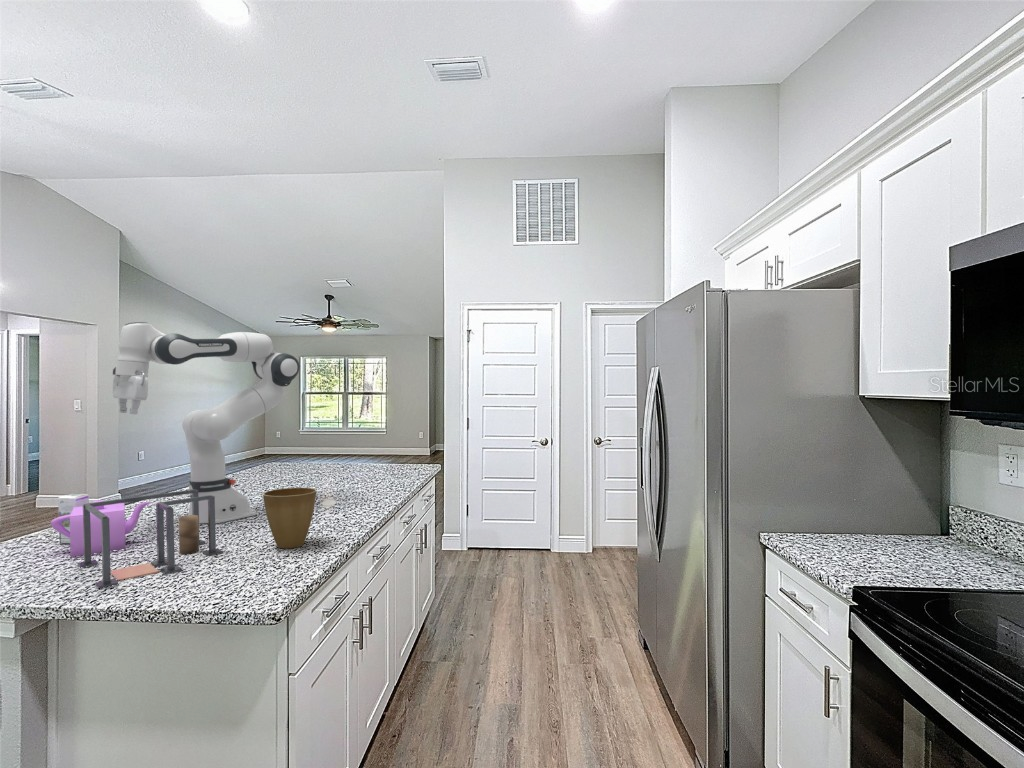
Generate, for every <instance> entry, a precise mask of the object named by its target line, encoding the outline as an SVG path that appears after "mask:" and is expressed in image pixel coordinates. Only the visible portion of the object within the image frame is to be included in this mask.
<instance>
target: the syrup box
mask: <svg viewBox="0 0 1024 768" xmlns="http://www.w3.org/2000/svg"><path fill="white" fill-rule="evenodd" d="M87 503H90V495H89V494H88V493H85V494H84V493H70V494H65V495H61V496H60V497H59V496H58V498H57V505H58V509H57V510H58V517H61V516H65V515H70V514H71V513H72V510H73V508H74V507H82V506H83V505H84V504H87ZM61 524H62V525H63V527H64V528H65V529H67V530H68V531H69V532H70V519H67V520H64V521H62V522H61ZM58 533H59V532H58ZM58 535H59V544H60V545H70V538H69V537H67V536H65V535H63V534H61V533H59V534H58Z"/></svg>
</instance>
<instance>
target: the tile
mask: <svg viewBox="0 0 1024 768" xmlns="http://www.w3.org/2000/svg"><path fill="white" fill-rule="evenodd" d="M110 570H111V574H112V575H113V576H114V577H115V578H116V579H117V580H118V582H120V581H119V580H122V581H125V580H124V579H127V580H130V579H129V578H131V579H134V578H133V577H136V578H139V577H138V576H141V577H144V575H145V576H149V575H150V576H151V575H153V574H154V573H155V574H159V573H160V570H159V569H158V568H157V567H154V566H153V565H151V563H149V562H146V563H142V564H138V565H137V564H136V565H132V566H127V567H122V568H117V569H110ZM112 575H111V576H112ZM113 576H112V577H113ZM114 577H113V578H114ZM115 578H114V579H115Z"/></svg>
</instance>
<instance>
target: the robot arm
mask: <svg viewBox="0 0 1024 768" xmlns="http://www.w3.org/2000/svg"><path fill="white" fill-rule="evenodd" d="M118 342H119V343H118V351H119V354H118V356H117V361H116V365H115V367H114V368H112V372H111V373H112V375H111V376H113V379H112V396H113V398H115V399H118V401H117V402H118V406H119V407H118V408H119V409H118V412H119V413H120V414H121V413H122V414H125V413H127V412H128V410H127V409H128V407H127V403H128V400H131V401H130V402H131V406H130V408H129V414H130V415H137V414H138V412H139V411H138V410H139V408H140V405H141V402H142V401H147V399H148V394H149V393H148V392H149V379H148V377H149V367H150V362H154V363H156V364H160V365H181V364H183V363H186V362H188V361H190V360H192V359H195V358H199V359H200V358H220V359H221V360H222V361H223V362H230V363H244V362H245V363H246V362H249V363H250V362H251V364H252V370H253V373H254V374H255V375H256V377H257V378H259V379H260V380H259V382H257V383H256V384H254V385H252V386H249V387H247V388H245V389H243V390H241V391H240V392H238V393H235V394H232V395H231V396H229V397H227V399H226V400H224V401H223V402H221V403H220V404H218V405H217V406H214V407H212V408H208V409H205V408H203V409H202V408H201V409H200V408H199V409H195V410H193V411H190V412H189V413H187V414H186V415H185V416H184V417H183V419H182V430H183V431H184V434H185V439H186V444H187V449H188V454H189V463H190V480H189V485H188V490H193V489H195V490H198V496H199V497H201V496H208V495H212V496H215V524H221V523H225V522H231V521H236V520H238V519H239V520H240V519H243V518H249V517H252V516H253V517H254V516H257V511H256V509H255V508H251V507H250V503H249V499H248V497H247V496H246V495H244V494H242V493H241V492H239V491H237V490H236V489H234V488H233V487H232V486H235V485H236V483H237V480H236V479H233V478H228V477H226V455H225V453H224V451H223V448H222V445H221V441H222V440H225V439H226V438H228V437H229V436H230V435H231V434H233V433H234V432H235V431H236V430H238V429H239V428H240V427H242V426H243V425H245V424H247V423H248V422H250V421H252V420H253V419H256V418H258V417H259V416H261V415H264V414H265V413H267V412H269V411H271V410H272V409H273V408H275V407H277V405H279V404H280V403H282V402H283V401H284V399H285V397H286V391H285V388H284V387H288V386H289V385H291V383H292V381H293V380H294V379H295V378H296V377H297V376H298V374H299V372H300V369H301V368H300V367H301V365H300V362H299V360H298V359H297V358H296V356H294V355H292V354H289V353H285V352H283V353H282V352H276V351H275V350H274V344H273V341H272V339H271V337H270V336H269V335H267V334H265V333H258V332H250V331H249V332H247V331H238V332H237V331H236V332H234V331H233V332H228V333H224V334H221V335H219V336H218V337H216V338H191V337H189V336H185V335H182V334H180V333H173V332H172V333H169V334H168V333H167V334H166V333H163V332H162V331H160V330H158V329H157V328H155V327H154V326H153V325H152V324H151V323H150V322H147V321H136V322H135V321H133V322H128V323H126V324H124V325H123V326H122V328H121V331H120V335H119V339H118ZM189 498H192V494H189ZM187 515H192V502H189V508H188V514H187ZM199 524H208V500H202V501H199Z"/></svg>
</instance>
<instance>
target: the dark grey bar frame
mask: <svg viewBox="0 0 1024 768" xmlns="http://www.w3.org/2000/svg"><path fill="white" fill-rule="evenodd" d="M190 494H192V498H191V497H188V498H181V499H180V498H179V499H174V500H168V501H167V500H166V501H159V502H157V503H155V514H156V516H155V517H156V552H157V555H156V556H157V558H156V560H153V561H150V564H151V565H152V566H153V567H155V568H157V566H158V567H162V566H166V567H163V568H159V572H160V573H162V574H163V575H169V574H174V573H178V572H179V573H180V572H182V571H183V568H182V567H181V566H179V565H176V562H175V561H176V560H175V558H176V557H175V556H176V554H175V520H174V519H175V518H174V517H175V516H174V512H175V511H174V508H173V507H172V506H173V505H180V504H189V503H190V502H192V515H198V525H199V526H200V523H199V501H202V500H208V523H207V525H208V526H207V527H208V528H207V529H208V550H203V551H202V554H203V555H204V556H206V557H211V556H215V555H216V556H217V555H221V554H223V550H222V549H220V548H217V540H216V537H217V535H216V534H217V532H216V523H215V496H212V495H208V496H201V497H199V496H198V490H195V489H193V490H189V489H188V490H178V491H171V492H163V493H157V494H156V493H155V494H149V495H147V494H146V495H142V496H141V495H139V496H135V497H126V498H118V499H111V500H110V499H109V500H104V501H102V502H94V503H91V502H89V503H87V504H84V505H83V538H84V556H83V561H80V562H76V563H77V564H76V566H77V567H78V568H79V567H80V568H79V569H82V568H81V567H85V568H87V567H86V566H90V567H92V566H91V565H95V566H98V565H99V562H98V561H97V560H96V559H92V555H91V525H90V512H91V513H92V514H93V515H95V516H96V517H97V518H99V519H100V520H101V536H102V553H101V566H102V567H101V568H102V570H101V571H102V574H101V575H102V581H101V580H100V581H95V583H94V586H95V585H96V586H97V587H98V588H101V589H103V588H102V587H106V588H108V587H107V586H110V587H113V586H112V585H115V586H118V585H119V581H117V580H116V579H115V578H111V576H112V575H111V570H112V569H111V552H110V529H109V518H108V516H106V515H105V514H103V513H102V512H100V511H99V510H97V509H96V508H94V507H96V506H104V505H111V504H118V503H124V504H125V503H126V504H127V503H132V502H139V501H148V500H154V499H161V498H168V497H177V496H183V495H190ZM164 511H165V515H164ZM164 516H165V517H164ZM164 521H165V522H164ZM165 524H166V526H165ZM165 527H166V529H165ZM165 530H166V537H165ZM165 538H166V551H165ZM206 543H207V542H206V541H205V540H203V539H200V538H199V546H202V545H206ZM165 553H166V555H165ZM165 556H166V558H165ZM97 564H98V565H97ZM117 584H118V585H117ZM96 586H95V587H96ZM97 587H96V588H97ZM98 588H97V589H98Z"/></svg>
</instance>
